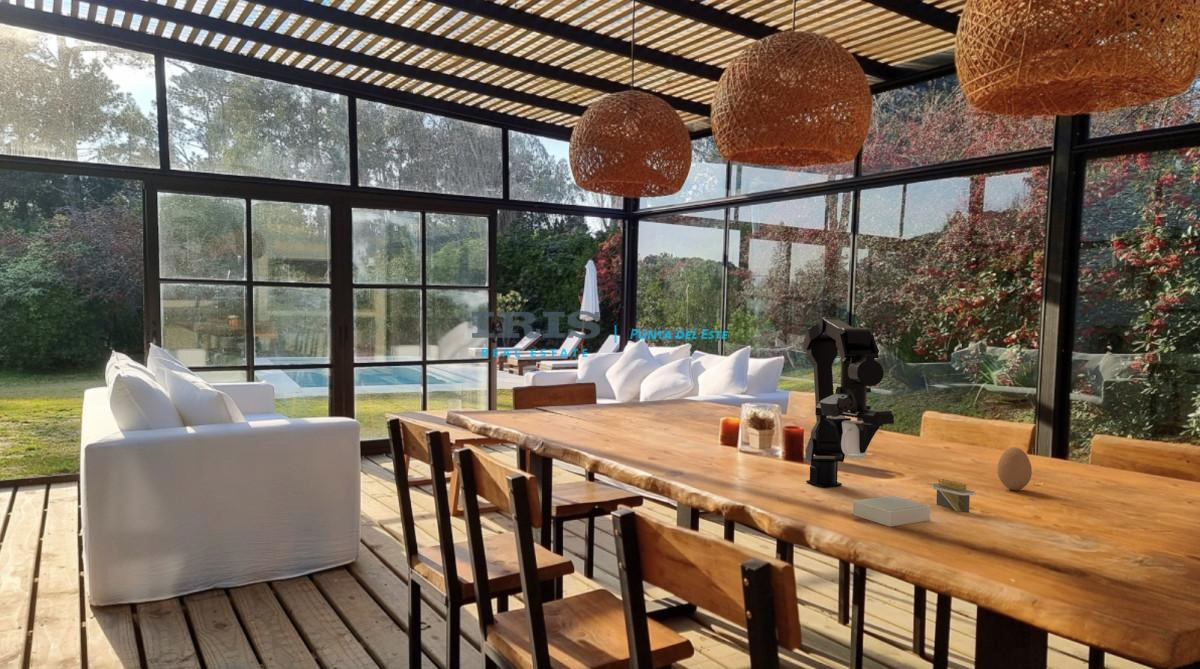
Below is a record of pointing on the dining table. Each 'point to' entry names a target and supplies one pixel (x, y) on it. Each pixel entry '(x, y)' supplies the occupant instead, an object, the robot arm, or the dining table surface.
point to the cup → (851, 440)
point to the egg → (1014, 469)
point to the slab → (891, 510)
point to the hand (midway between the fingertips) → (852, 450)
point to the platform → (953, 495)
